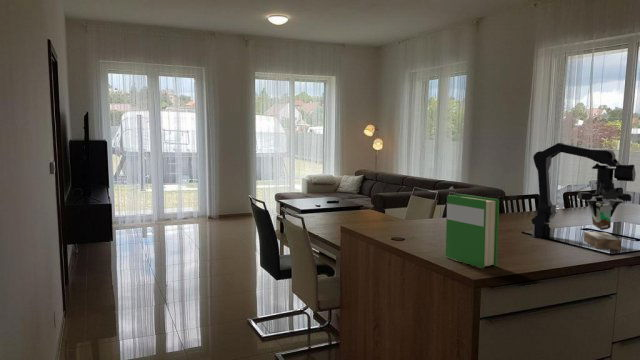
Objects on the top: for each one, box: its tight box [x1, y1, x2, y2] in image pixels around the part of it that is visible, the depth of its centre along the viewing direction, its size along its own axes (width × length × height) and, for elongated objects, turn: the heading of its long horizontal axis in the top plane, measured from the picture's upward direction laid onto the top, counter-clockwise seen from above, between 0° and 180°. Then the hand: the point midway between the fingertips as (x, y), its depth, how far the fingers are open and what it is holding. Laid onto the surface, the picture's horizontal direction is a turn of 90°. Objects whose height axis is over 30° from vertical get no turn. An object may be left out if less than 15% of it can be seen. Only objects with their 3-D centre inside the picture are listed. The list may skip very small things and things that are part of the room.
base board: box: [583, 231, 622, 251], centre depth 192 cm, size 9×15×4 cm, turn 167°
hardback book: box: [445, 194, 500, 269], centre depth 165 cm, size 18×7×24 cm, turn 28°
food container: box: [590, 200, 613, 231], centre depth 191 cm, size 12×6×10 cm, turn 168°
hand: (602, 216), depth 191 cm, fingers closed on food container, 6 cm apart
